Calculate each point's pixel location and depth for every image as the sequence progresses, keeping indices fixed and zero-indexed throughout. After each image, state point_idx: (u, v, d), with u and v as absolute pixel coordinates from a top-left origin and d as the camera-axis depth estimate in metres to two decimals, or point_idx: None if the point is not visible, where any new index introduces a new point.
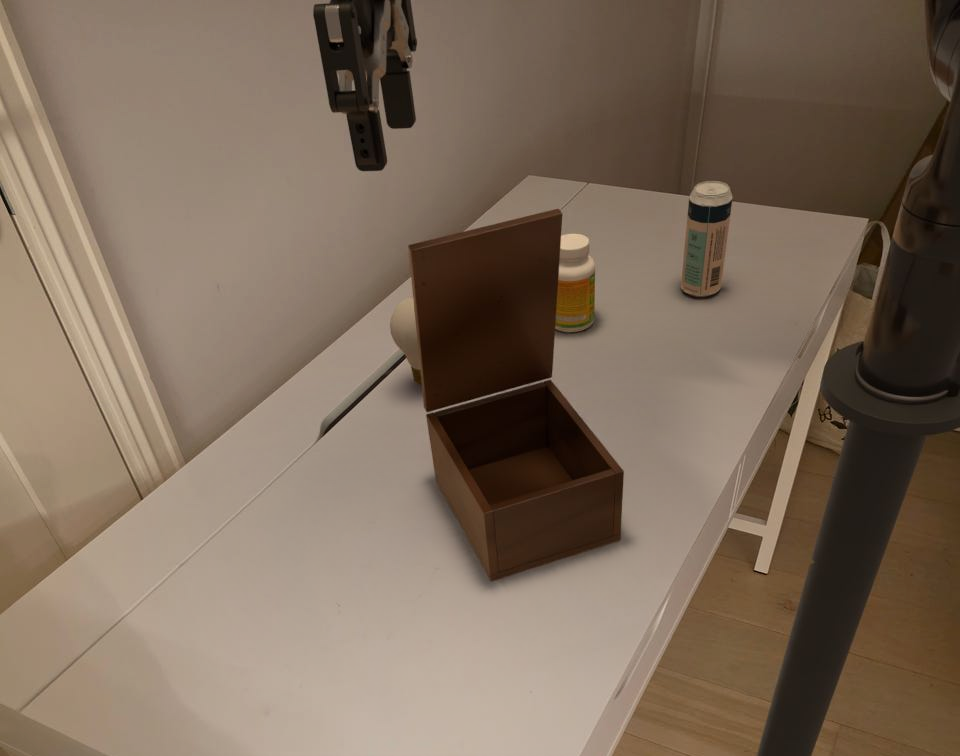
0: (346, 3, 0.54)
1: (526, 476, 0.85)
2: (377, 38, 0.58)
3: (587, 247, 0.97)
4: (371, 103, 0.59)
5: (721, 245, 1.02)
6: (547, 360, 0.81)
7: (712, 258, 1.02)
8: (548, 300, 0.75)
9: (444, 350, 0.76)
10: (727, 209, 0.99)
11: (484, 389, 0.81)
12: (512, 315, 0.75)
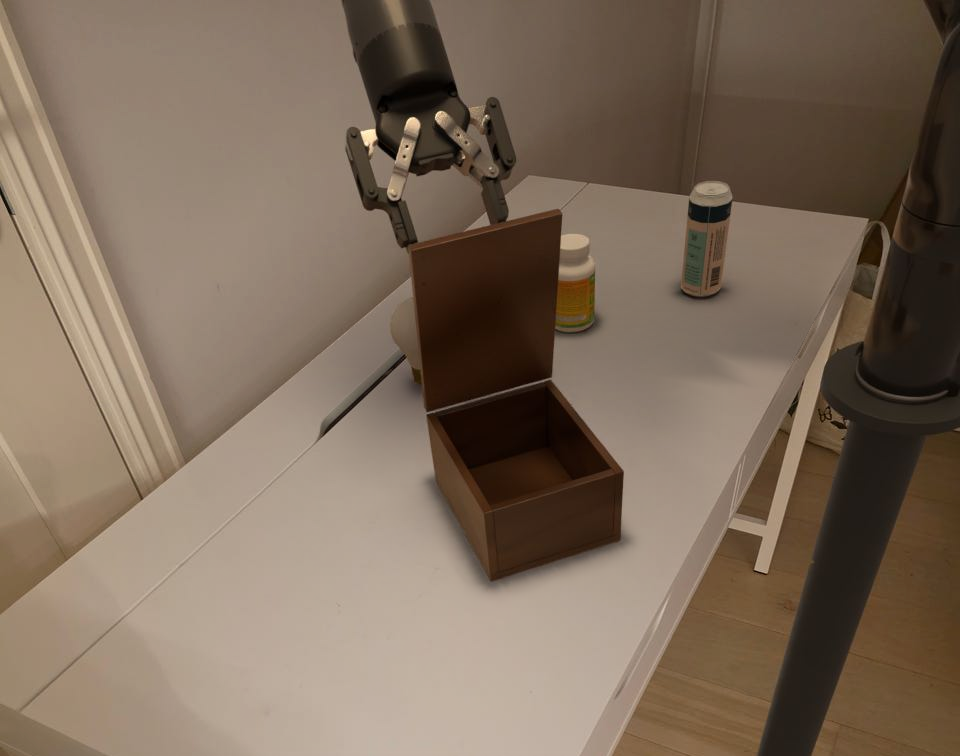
0: None
1: (526, 476, 0.85)
2: (399, 148, 0.74)
3: (587, 247, 0.97)
4: (387, 194, 0.74)
5: (721, 245, 1.02)
6: (547, 360, 0.81)
7: (712, 258, 1.02)
8: (548, 300, 0.75)
9: (444, 350, 0.76)
10: (727, 209, 0.99)
11: (484, 389, 0.81)
12: (512, 315, 0.75)
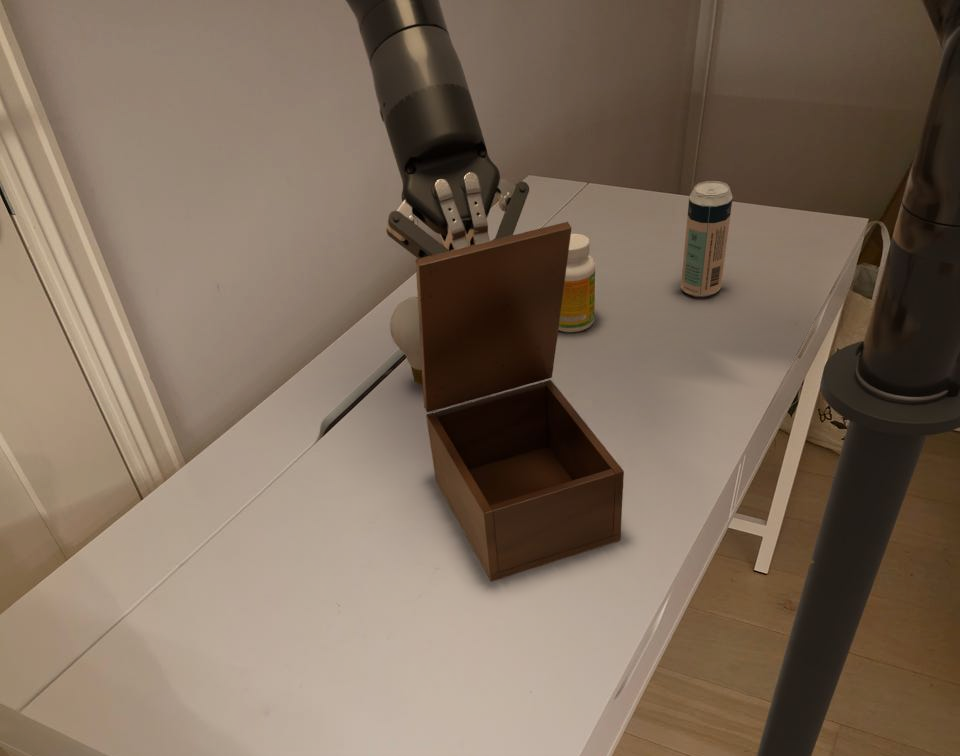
0: None
1: (526, 476, 0.85)
2: (444, 216, 0.72)
3: (587, 247, 0.97)
4: None
5: (721, 245, 1.02)
6: (548, 362, 0.81)
7: (712, 258, 1.02)
8: (552, 308, 0.75)
9: (446, 356, 0.75)
10: (727, 209, 0.99)
11: (484, 390, 0.81)
12: (516, 322, 0.75)
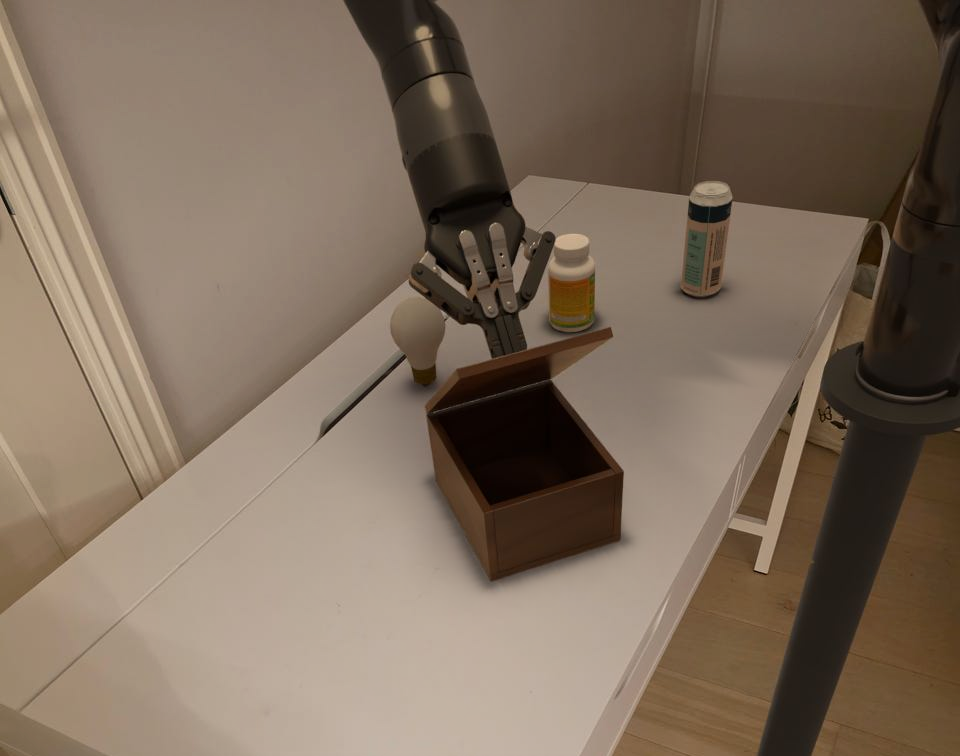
0: None
1: (526, 476, 0.85)
2: (468, 267, 0.70)
3: (587, 247, 0.97)
4: (486, 315, 0.71)
5: (721, 245, 1.02)
6: (552, 375, 0.81)
7: (712, 258, 1.02)
8: (572, 361, 0.75)
9: (460, 396, 0.75)
10: (727, 209, 0.99)
11: (486, 396, 0.81)
12: (534, 372, 0.74)
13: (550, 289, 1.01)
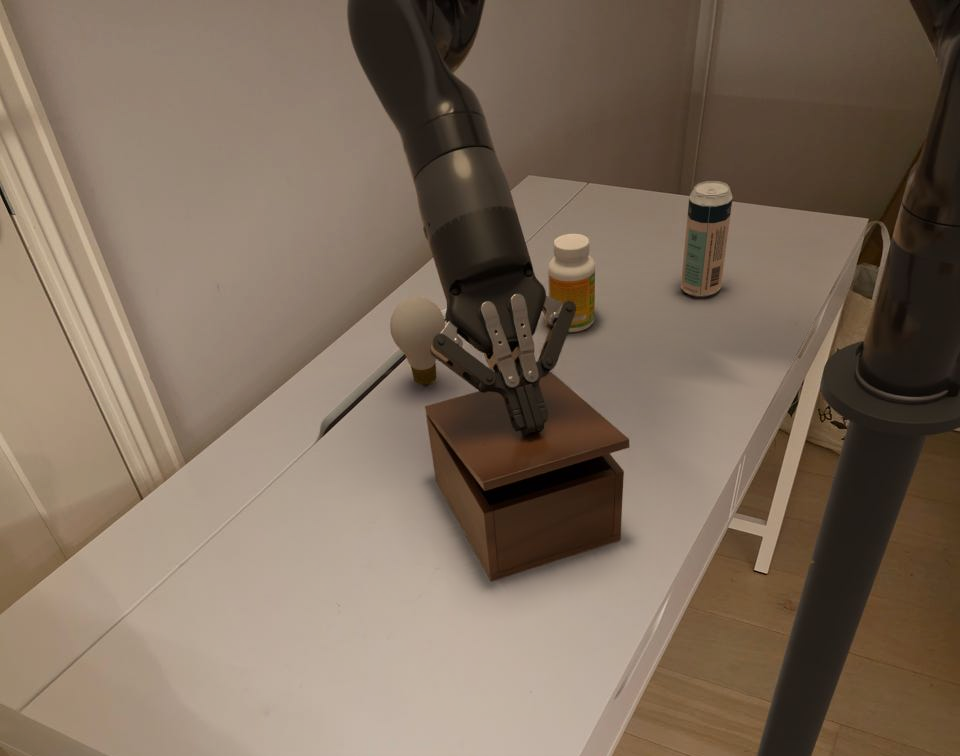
0: (433, 339, 0.70)
1: None
2: (489, 338, 0.70)
3: (587, 247, 0.97)
4: (507, 385, 0.71)
5: (721, 245, 1.02)
6: None
7: (712, 258, 1.02)
8: None
9: None
10: (727, 209, 0.99)
11: None
12: None
13: (550, 289, 1.01)
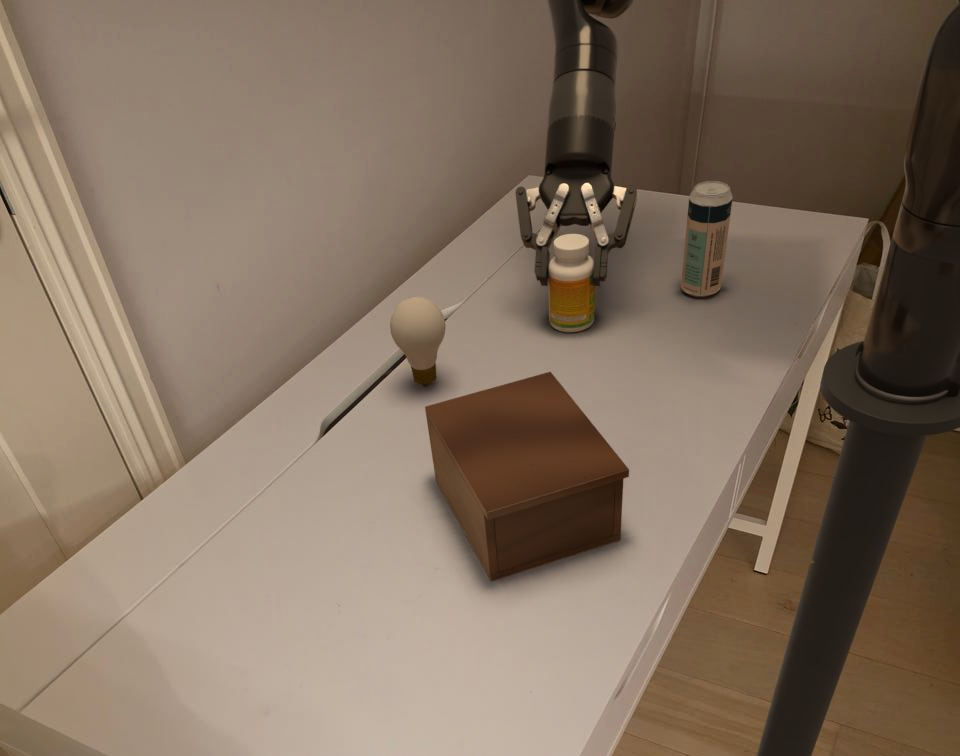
0: None
1: None
2: None
3: (587, 247, 0.97)
4: (536, 241, 0.99)
5: (721, 245, 1.02)
6: None
7: (712, 258, 1.02)
8: None
9: None
10: (727, 209, 0.99)
11: None
12: None
13: (550, 289, 1.01)
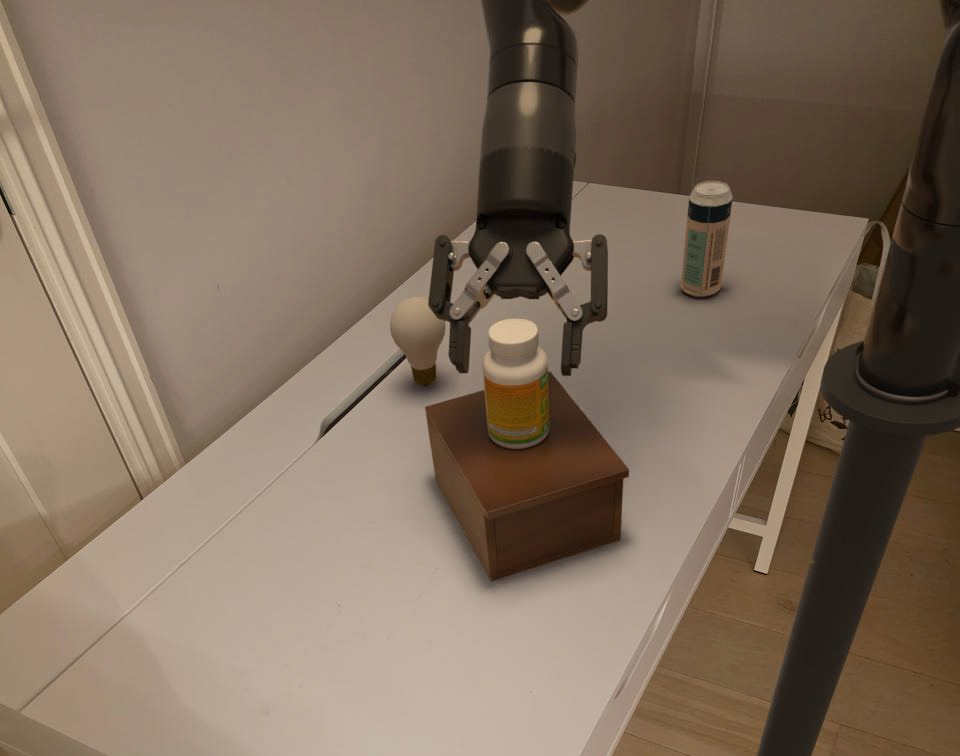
0: None
1: None
2: None
3: (535, 339, 0.69)
4: (450, 310, 0.70)
5: (721, 245, 1.02)
6: None
7: (712, 258, 1.02)
8: None
9: None
10: (727, 209, 0.99)
11: None
12: None
13: (486, 393, 0.73)
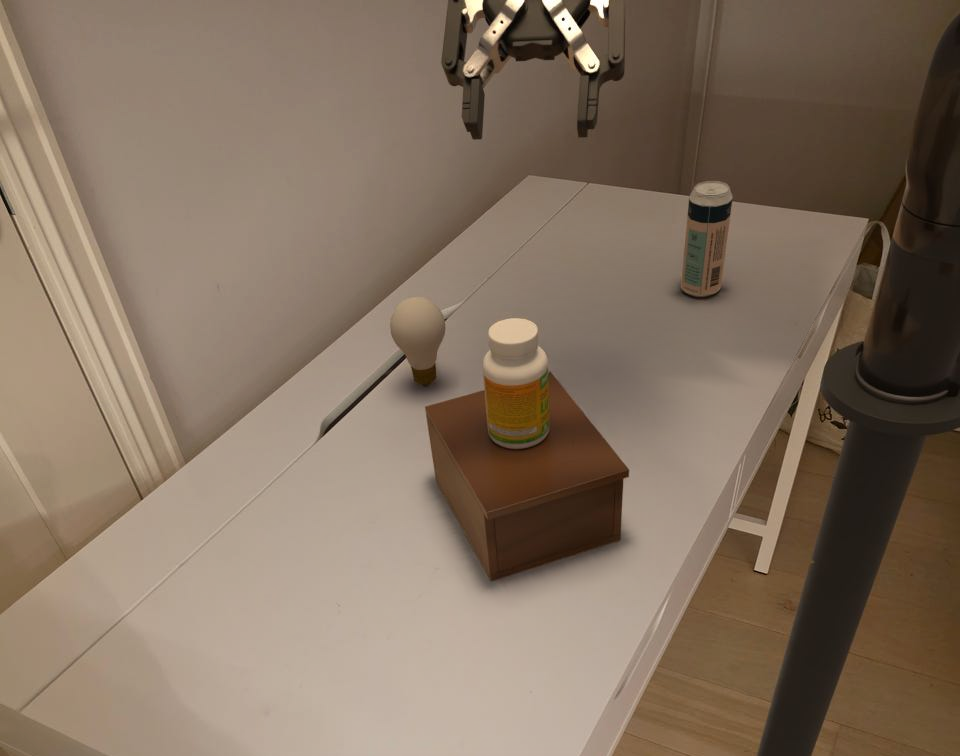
0: None
1: None
2: None
3: (535, 339, 0.69)
4: (463, 68, 0.69)
5: (721, 245, 1.02)
6: None
7: (712, 258, 1.02)
8: None
9: None
10: (727, 209, 0.99)
11: None
12: None
13: (486, 393, 0.73)
